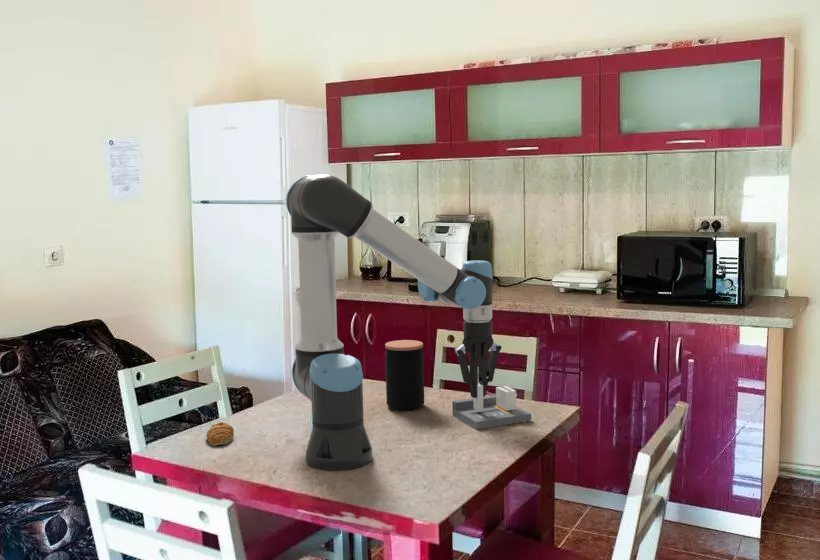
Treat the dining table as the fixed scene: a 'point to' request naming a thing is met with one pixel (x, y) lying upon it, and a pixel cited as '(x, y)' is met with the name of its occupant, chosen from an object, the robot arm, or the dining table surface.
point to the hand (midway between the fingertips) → (478, 409)
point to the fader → (506, 398)
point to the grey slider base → (487, 413)
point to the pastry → (220, 434)
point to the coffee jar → (404, 375)
